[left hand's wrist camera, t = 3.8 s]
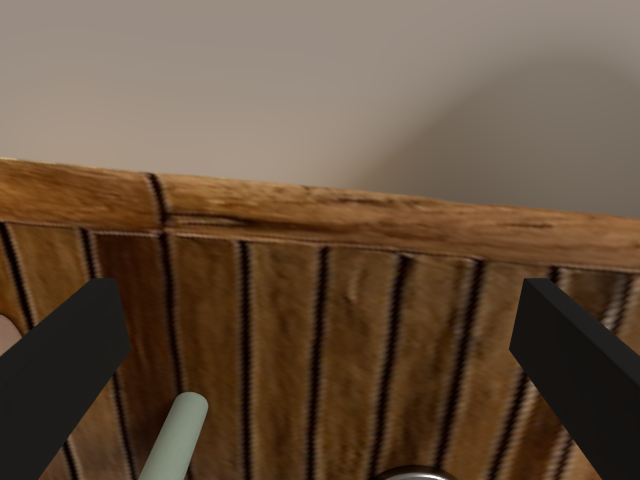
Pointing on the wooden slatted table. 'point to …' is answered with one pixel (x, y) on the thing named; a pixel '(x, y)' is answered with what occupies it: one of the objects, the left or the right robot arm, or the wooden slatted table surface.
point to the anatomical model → (7, 334)
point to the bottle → (176, 439)
